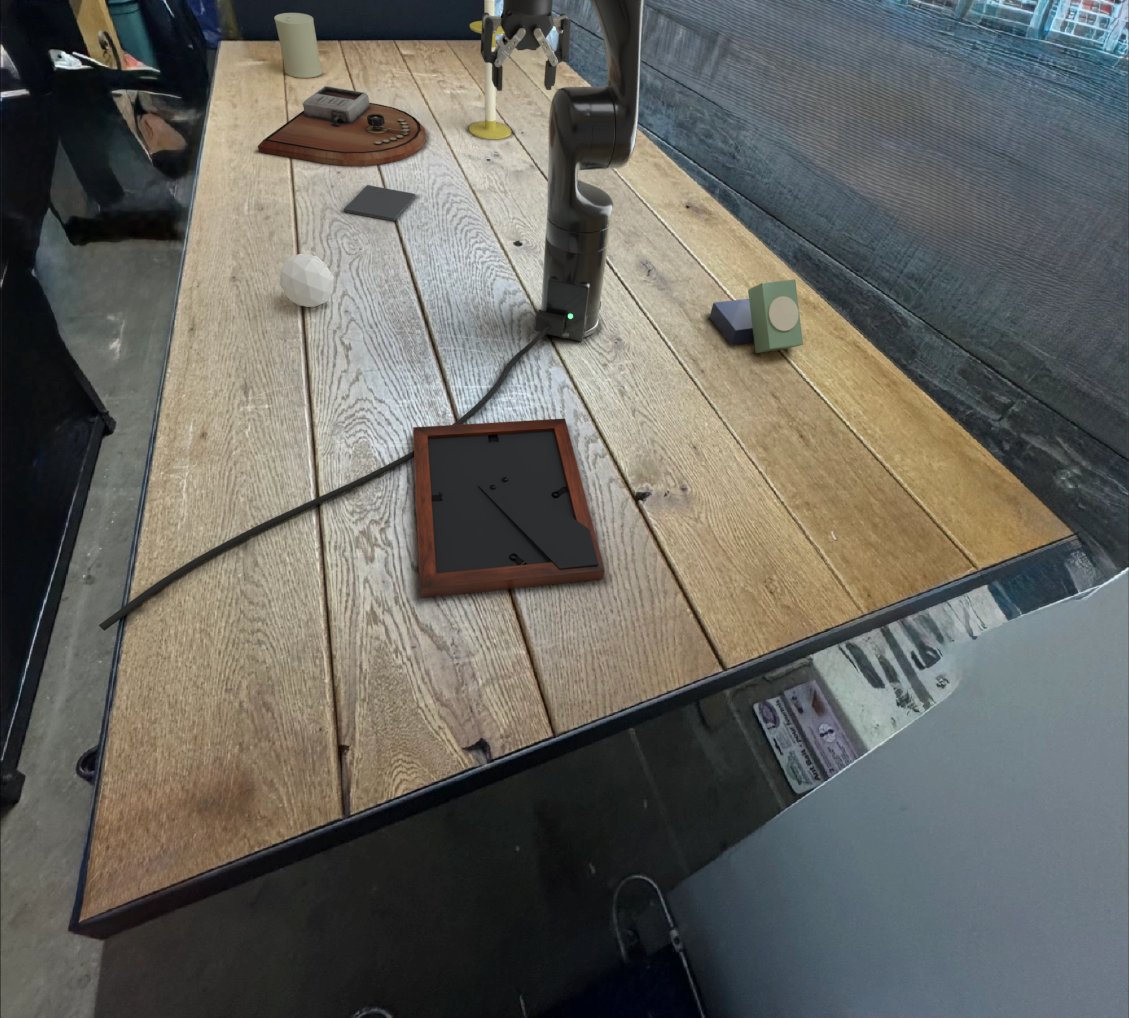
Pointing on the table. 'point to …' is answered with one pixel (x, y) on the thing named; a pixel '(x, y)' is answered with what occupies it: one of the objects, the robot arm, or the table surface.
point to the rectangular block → (733, 320)
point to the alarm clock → (775, 316)
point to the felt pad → (380, 203)
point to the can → (298, 45)
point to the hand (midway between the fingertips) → (523, 88)
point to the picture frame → (501, 508)
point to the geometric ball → (306, 280)
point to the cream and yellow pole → (489, 90)
